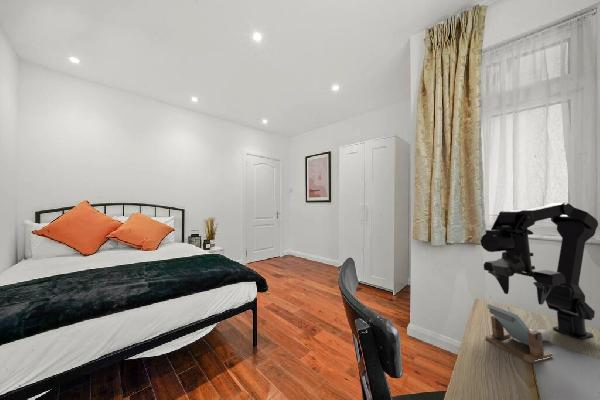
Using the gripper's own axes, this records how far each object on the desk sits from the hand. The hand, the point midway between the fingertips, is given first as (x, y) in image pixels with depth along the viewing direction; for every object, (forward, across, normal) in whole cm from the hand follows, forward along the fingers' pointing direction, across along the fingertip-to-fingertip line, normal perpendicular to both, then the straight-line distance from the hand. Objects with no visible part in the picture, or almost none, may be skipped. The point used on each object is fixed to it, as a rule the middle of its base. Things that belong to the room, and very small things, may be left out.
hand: (522, 298), depth 71 cm
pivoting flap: (+8, +2, -8) cm, 11 cm away
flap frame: (+13, +2, -7) cm, 15 cm away
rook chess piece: (+10, +2, -2) cm, 11 cm away
